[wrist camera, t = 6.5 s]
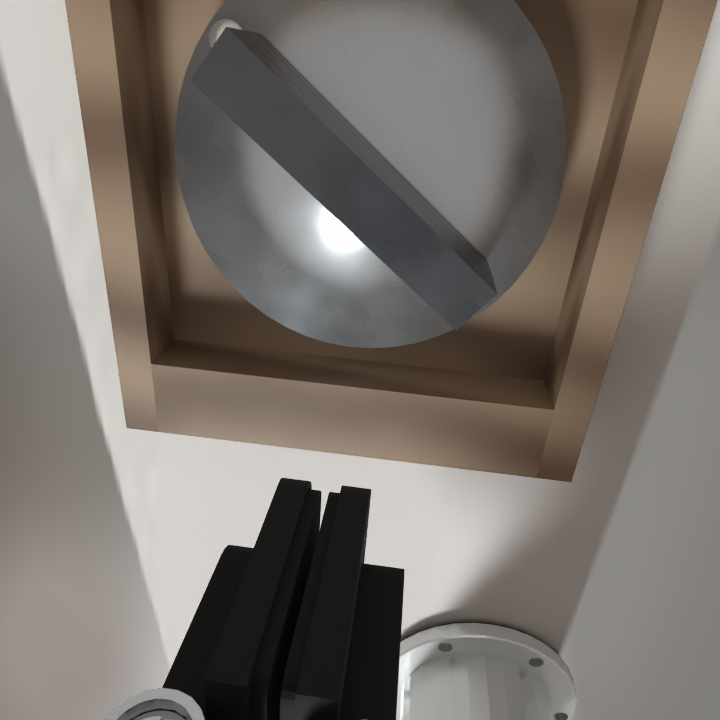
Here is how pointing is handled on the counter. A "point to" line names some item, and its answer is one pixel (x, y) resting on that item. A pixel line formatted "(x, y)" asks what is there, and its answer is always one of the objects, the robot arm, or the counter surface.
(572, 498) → the counter surface
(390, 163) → the dial
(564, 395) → the dial panel
